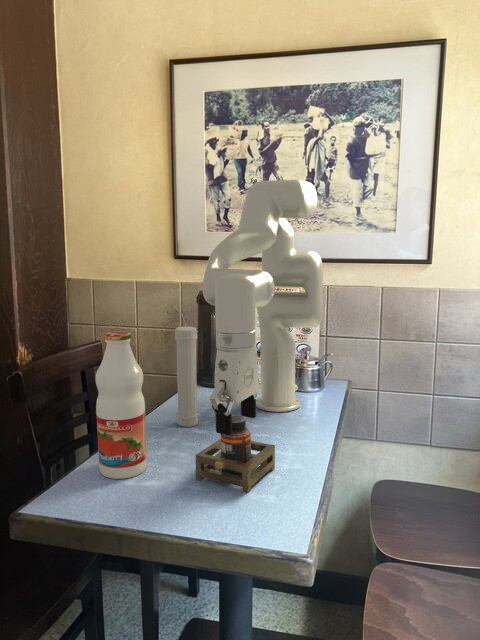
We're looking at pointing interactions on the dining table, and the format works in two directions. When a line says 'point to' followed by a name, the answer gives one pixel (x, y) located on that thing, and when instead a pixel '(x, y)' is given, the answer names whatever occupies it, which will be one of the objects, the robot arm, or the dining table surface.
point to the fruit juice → (120, 410)
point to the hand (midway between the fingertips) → (236, 424)
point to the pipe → (186, 375)
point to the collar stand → (235, 465)
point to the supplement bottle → (236, 443)
